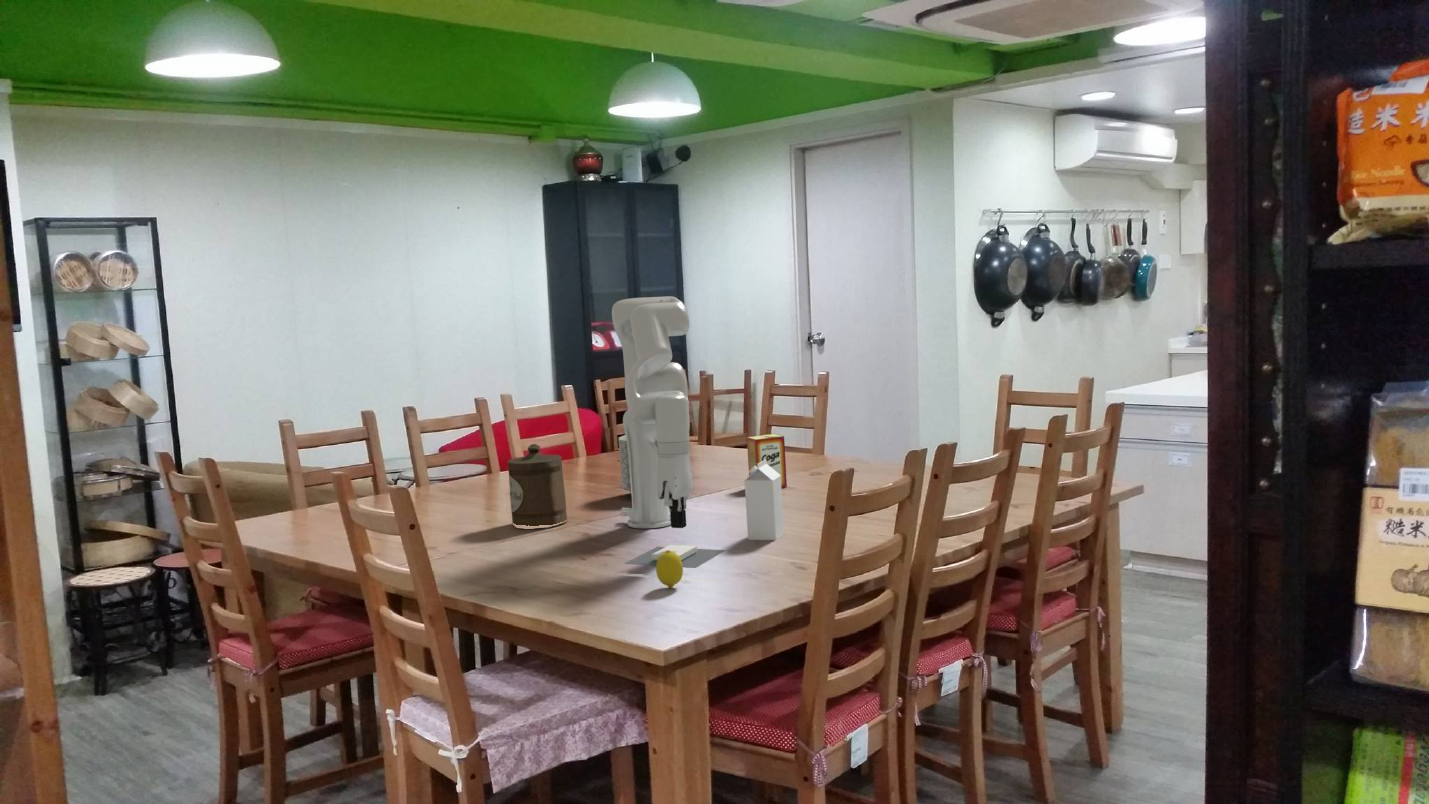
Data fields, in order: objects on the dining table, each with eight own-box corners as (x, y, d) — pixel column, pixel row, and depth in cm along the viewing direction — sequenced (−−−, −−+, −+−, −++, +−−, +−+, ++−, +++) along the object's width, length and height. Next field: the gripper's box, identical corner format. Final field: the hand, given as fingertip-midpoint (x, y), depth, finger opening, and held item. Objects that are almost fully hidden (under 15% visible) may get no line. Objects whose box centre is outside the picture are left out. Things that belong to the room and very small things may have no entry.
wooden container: (514, 520, 306) (508, 443, 304) (567, 516, 308) (562, 439, 306) (510, 531, 292) (504, 450, 289) (566, 527, 293) (560, 446, 291)
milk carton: (784, 535, 268) (779, 459, 266) (776, 542, 261) (771, 463, 259) (756, 535, 270) (752, 459, 268) (747, 541, 264) (743, 464, 262)
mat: (624, 566, 247) (624, 563, 247) (657, 549, 262) (657, 546, 262) (695, 570, 240) (695, 567, 240) (725, 552, 254) (725, 550, 254)
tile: (670, 551, 256) (652, 561, 248) (669, 544, 256) (651, 554, 248) (697, 553, 253) (679, 562, 245) (696, 546, 253) (679, 555, 245)
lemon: (657, 585, 229) (654, 548, 228) (683, 583, 230) (680, 546, 229) (657, 592, 224) (655, 554, 223) (684, 590, 224) (682, 552, 223)
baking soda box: (758, 491, 329) (755, 438, 327) (749, 487, 335) (746, 436, 333) (786, 487, 332) (784, 435, 330) (777, 484, 338) (775, 432, 336)
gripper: (673, 443, 259) (678, 519, 261) (643, 453, 245) (649, 533, 247) (702, 443, 256) (707, 520, 257) (673, 453, 242) (678, 535, 244)
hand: (678, 527), depth 252 cm, fingers closed
